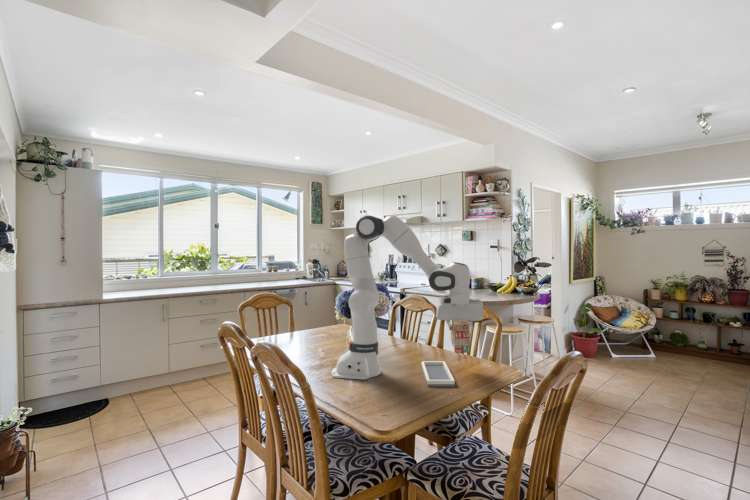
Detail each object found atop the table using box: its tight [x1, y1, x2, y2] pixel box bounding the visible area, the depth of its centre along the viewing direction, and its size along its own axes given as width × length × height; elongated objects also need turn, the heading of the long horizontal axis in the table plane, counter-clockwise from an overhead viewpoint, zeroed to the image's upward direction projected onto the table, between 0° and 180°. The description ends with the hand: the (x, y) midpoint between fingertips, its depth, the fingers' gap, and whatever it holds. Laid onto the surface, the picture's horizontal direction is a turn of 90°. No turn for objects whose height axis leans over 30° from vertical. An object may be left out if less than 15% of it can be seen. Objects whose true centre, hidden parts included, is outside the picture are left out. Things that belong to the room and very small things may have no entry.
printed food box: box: [449, 320, 471, 354], centre depth 164 cm, size 21×6×12 cm, turn 173°
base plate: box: [421, 360, 456, 388], centre depth 164 cm, size 11×26×2 cm, turn 178°
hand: (459, 330), depth 163 cm, fingers closed on printed food box, 6 cm apart
